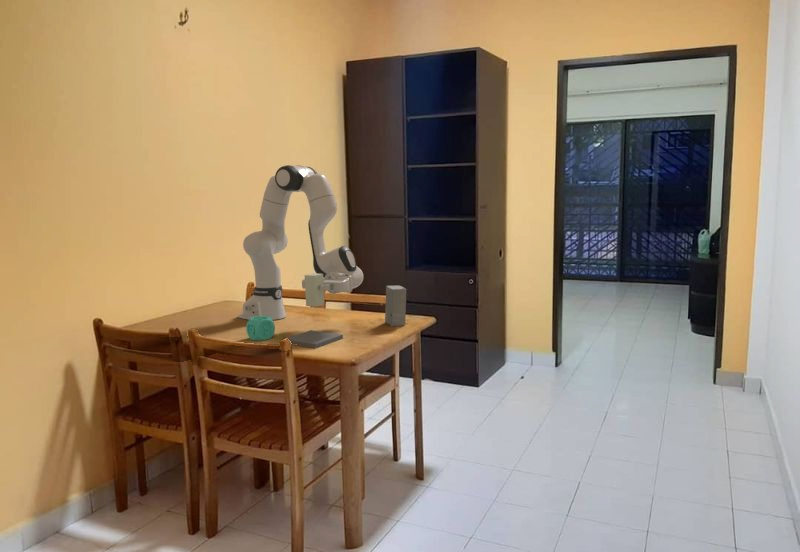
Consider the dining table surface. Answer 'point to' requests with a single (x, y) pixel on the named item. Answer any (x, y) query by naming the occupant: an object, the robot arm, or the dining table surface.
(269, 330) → the decorative dice
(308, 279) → the sage block
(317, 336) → the slate board
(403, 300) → the skincare box
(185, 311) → the dining table surface
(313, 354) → the dining table surface
